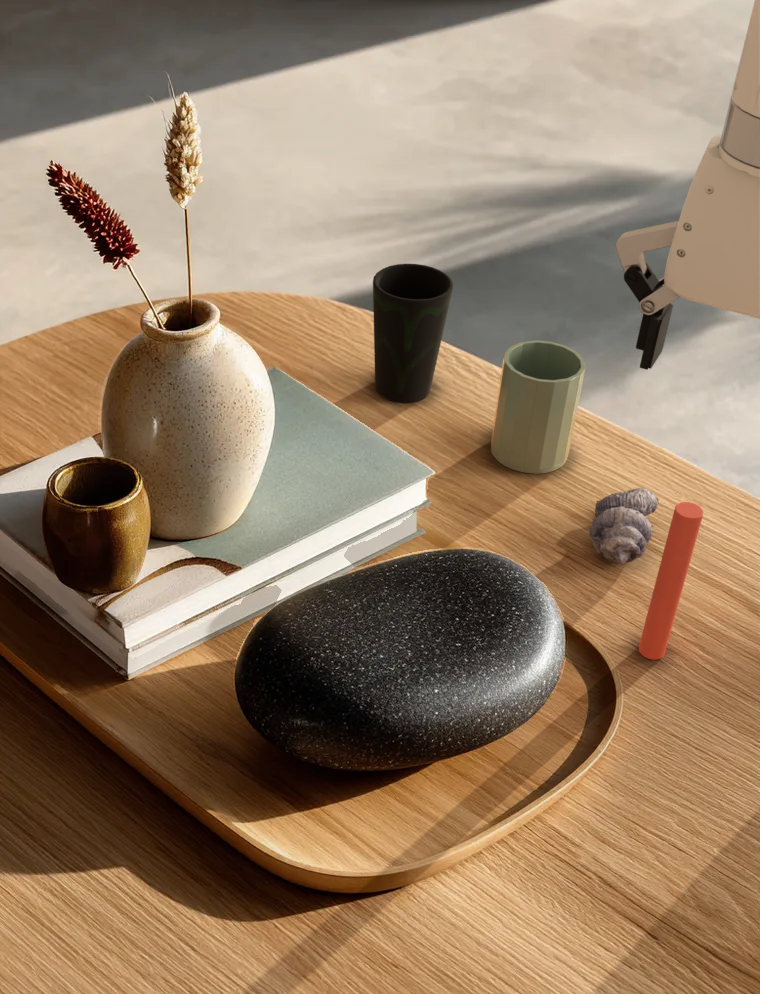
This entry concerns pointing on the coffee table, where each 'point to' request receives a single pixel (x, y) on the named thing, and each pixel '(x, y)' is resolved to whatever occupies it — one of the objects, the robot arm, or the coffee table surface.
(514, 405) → the tumbler
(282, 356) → the coffee table surface
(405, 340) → the cup
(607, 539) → the seashell
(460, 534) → the coffee table surface
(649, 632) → the rod
